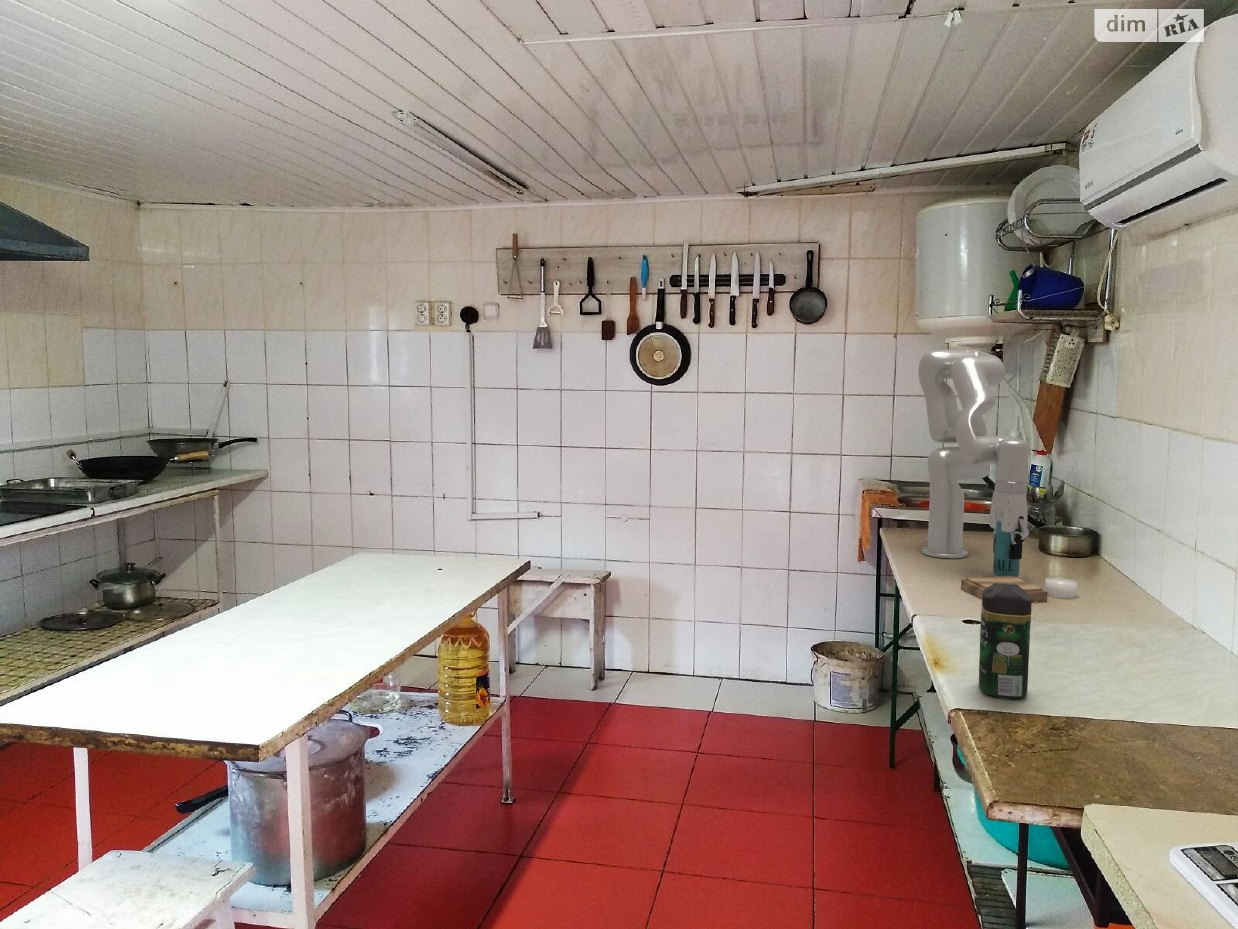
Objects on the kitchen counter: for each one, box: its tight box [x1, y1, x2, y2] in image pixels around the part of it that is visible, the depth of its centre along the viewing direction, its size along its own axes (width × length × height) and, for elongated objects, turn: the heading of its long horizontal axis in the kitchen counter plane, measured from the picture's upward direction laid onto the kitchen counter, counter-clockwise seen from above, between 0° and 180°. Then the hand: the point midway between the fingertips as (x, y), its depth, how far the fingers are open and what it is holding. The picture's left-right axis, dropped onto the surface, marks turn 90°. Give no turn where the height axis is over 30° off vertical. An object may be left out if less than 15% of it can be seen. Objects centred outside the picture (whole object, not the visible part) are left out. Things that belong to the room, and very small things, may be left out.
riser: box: [960, 576, 1048, 603], centre depth 216 cm, size 14×14×3 cm
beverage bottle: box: [992, 521, 1021, 578], centre depth 229 cm, size 6×7×20 cm
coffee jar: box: [978, 583, 1033, 700], centre depth 153 cm, size 10×8×19 cm
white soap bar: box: [1044, 577, 1078, 600], centre depth 216 cm, size 7×7×4 cm
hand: (1007, 555), depth 229 cm, fingers closed on beverage bottle, 6 cm apart
